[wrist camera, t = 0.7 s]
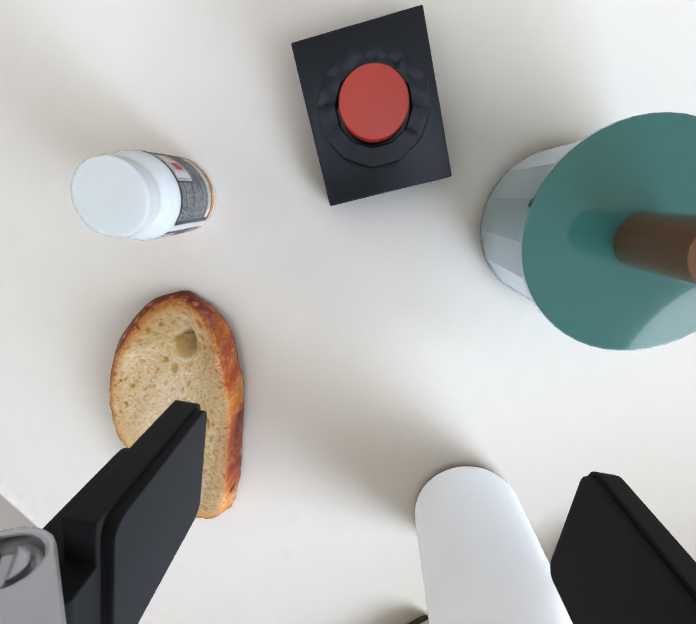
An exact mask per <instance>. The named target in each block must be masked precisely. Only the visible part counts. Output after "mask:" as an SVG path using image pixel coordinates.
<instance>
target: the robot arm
mask: <svg viewBox="0 0 696 624" xmlns="http://www.w3.org/2000/svg"><path fill="white" fill-rule="evenodd" d="M206 423H207V412H206V411H203V410H201V407H200V404H198V403H192V402H186V401H181V400H175V401H174V402H173V403H172V404H171V405H170V406H169V407H168V408H167V409H166V410H165V411H164V412H163V413H162V414H161V415H160V416H159V417H158V419H157V420H156V421H155V422H154V423H153V424H152V425H151V426H150V427H149V428H148V429H147V430H146V431H145V432H144V433H143V434H142V435H141V436H140V437H139V438H138V439H137V441H136V442H135V443H134V444H133V445H132V446H131V447H130V448H123V449H121V450H120V451H119V452H118V453H117V454H116V455H115V456H114V457H113V458H112V459H111V460H110V461H109V462H108V463H107V464H106V465H105V466H104V467H103V468H102V469H101V470H100V471H99V472H98V473H97V474H96V475H95V476H94V477H93V478H92V479H91V480H90V481H89V482H88V483H87V484H86V485H85V486H84V487H83V488H82V489H81V490H80V491H79V492H78V493H77V494H76V495H75V496H74V497H73V498H72V499H71V500H70V501H69V502H68V503H67V504H66V505H65V506H64V507H63V508H62V510H61V511H60V512H59V513H58V514H57V515H56V516H55V517H54V518H53V519H52V520H51V521H50V522H49V523H48V524H47V525H46V526H45V527H44V528H43V529H41V528H37V527H15V528H10V529H5V530H2V531H0V624H138V622H139V621H140V619H141V617H142V615H143V613H144V611H145V609H146V608H147V606H148V604H149V602H150V600H151V598H152V597H153V595H154V593H155V591H156V589H157V587H158V586H159V584H160V582H161V580H162V578H163V576H164V575H165V573H166V571H167V569H168V567H169V565H170V564H171V562H172V560H173V558H174V556H175V554H176V553H177V551H178V549H179V547H180V545H181V543H182V541H183V540H184V538H185V536H186V534H187V532H188V530H189V529H190V527H191V525H192V523H193V521H194V519H195V517H196V515H197V513H198V510H199V506H200V500H201V487H202V474H203V461H204V449H205V436H206ZM550 574H551V578H552V581H553V583H554V585H555V587H556V589H557V591H558V593H559V596H560V598H561V600H562V602H563V604H564V606H565V608H566V611H567V613H568V615H569V617H570V619H571V621H572V623H573V624H696V562H695V561H694V560H693V559H692V557H691V556H690V555H689V554H688V553H687V552H686V551H685V549H684V548H683V547H682V546H681V545H680V544H679V543H678V542H677V540H676V539H675V538H674V537H673V536H672V535H671V534H670V532H669V531H668V530H667V529H666V528H665V527H664V526H663V525H662V523H661V522H660V521H659V520H658V519H657V518H656V517H655V515H654V514H653V513H652V512H651V511H650V510H649V509H648V508H647V506H646V505H645V504H644V503H643V502H642V501H641V500H640V498H639V497H638V496H637V495H636V494H635V493H634V492H633V490H632V489H631V488H630V487H629V486H628V485H627V484H626V483H625V481H624V480H623V479H622V478H621V477H619V476H616V475H611V474H605V473H599V472H591V473H590V474H589V475H588V476H585V477H583V478H582V479H581V481H580V483H579V486H578V489H577V491H576V494H575V497H574V500H573V502H572V505H571V508H570V511H569V513H568V516H567V519H566V522H565V524H564V527H563V530H562V532H561V535H560V538H559V541H558V543H557V546H556V549H555V552H554V554H553V557H552V560H551V563H550Z"/></svg>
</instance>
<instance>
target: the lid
mask: <svg viewBox="0 0 696 624" xmlns="http://www.w3.org/2000/svg"><path fill="white" fill-rule="evenodd" d="M519 261H520V269H521V273H522V278H523V281H524V284H525V287H526V289H527V292H528V294H529V296H530V298H531V299H532V301H533V303H534V305H535V306H536V307H537V309H538V310H539V311H540V313H541V314H542V315H543V316H544V317H545V318H546V319H547V320H548V321H549V322H550V323H551V324H552V325H554V326H555V327H556V328H558V329H559V330H560V331H562V332H563V333H564V334H566V335H568V336H570V337H571V338H573V339H575V340H577V341H579V342H582V343H585V344H587V345H590V346H594V347H598V348H602V349H609V350H618V351H625V350H641V349H648V348H653V347H657V346H661V345H665V344H667V343H670V342H673V341H676V340H678V339H681V338H683V337H685V336H687V335H689V334H691V333H693V332H695V331H696V116H693V115H689V114H684V113H673V112H661V113H649V114H643V115H638V116H633V117H630V118H627V119H623V120H620V121H617V122H614V123H611V124H609V125H607V126H605V127H603V128H600V129H598V130H596V131H594V132H593V133H591V134H589V135H588V136H586V137H584V138H583V139H581V140H580V141H579V142H577V143H576V144H575V145H573V146H572V147H571V148H570V149H568V150H567V151H566V152H565V153H564V154H563V155H562V156H561V157H560V158H559V159H558V160H557V161H556V162H555V163H554V164H553V165H552V167H551V168H550V169H549V170H548V172H547V173H546V174H545V175H544V177H543V178H542V180H541V181H540V183H539V185H538V186H537V188H536V189H535V191H534V193H533V195H532V197H531V200H530V202H529V204H528V206H527V209H526V212H525V215H524V218H523V222H522V227H521V232H520V239H519Z"/></svg>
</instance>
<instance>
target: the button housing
mask: <svg viewBox="0 0 696 624" xmlns="http://www.w3.org/2000/svg"><path fill="white" fill-rule="evenodd" d="M291 45H292V49H293V54H294V58H295V62H296V66H297V70H298V74H299V78H300V83H301V87H302V91H303V95H304V99H305V103H306V107H307V112H308V116H309V120H310V124H311V128H312V132H313V136H314V141H315V145H316V149H317V153H318V157H319V161H320V165H321V170H322V174H323V178H324V182H325V186H326V190H327V194H328V199H329V203H330V206H332V205H336V204H341V203H345V202H349V201H353V200H357V199H361V198H365V197H369V196H373V195H377V194H381V193H385V192H389V191H393V190H397V189H401V188H406V187H410V186H414V185H418V184H422V183H426V182H430V181H434V180H438V179H442V178H446V177H450V176H451V170H450V164H449V158H448V152H447V146H446V140H445V134H444V128H443V122H442V116H441V111H440V105H439V99H438V93H437V87H436V81H435V75H434V69H433V63H432V57H431V51H430V45H429V40H428V34H427V28H426V22H425V16H424V10H423V6H422V5H420V6H416V7H413V8H410V9H406V10H403V11H399V12H396V13H392V14H389V15H386V16H382V17H379V18H375V19H372V20H369V21H365V22H362V23H358V24H355V25H352V26H348V27H345V28H341V29H338V30H335V31H331V32H328V33H324V34H321V35H318V36H314V37H311V38H307V39H304V40H300V41H297V42H294V43H292V44H291ZM368 63H382V64H385V65H388V66H390V67H392V68H393V69H395V70H396V71H397V72H398V73H399V74H400V75H401V77H402V78H403V79H404V81H405V83H406V86H407V89H408V93H409V108H408V112H407V115H406V117H405V120H404V122H403V124H402V126H401V127H400V129H399V130H398V131H397V132H396V133H395V134H394V135H393V136H392V137H390V138H388V139H386V140H384V141H381V142H375V143H371V142H365V141H362V140H360V139H358V138H356V137H355V136H353V135H352V134H351V133H350V132H349V131H348V129H347V128H346V126H345V124H344V122H343V120H342V117H341V114H340V110H339V95H340V90H341V87H342V85H343V83H344V81H345V79H346V78H347V77H348V75H349V74H350V73H351V72H352V71H353V70H355V69H356V68H358V67H360V66H362V65H364V64H368Z"/></svg>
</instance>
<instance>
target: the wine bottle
mask: <svg viewBox="0 0 696 624" xmlns="http://www.w3.org/2000/svg"><path fill="white" fill-rule="evenodd" d="M415 522H416V529H417V537H418V544H419V552H420V559H421V567H422V574H423V582H424V589H425V596H426V604H427V611H428V619H429V624H573V623H572V621H571V619H570V617H569V615H568V613H567V611H566V608H565V606H564V604H563V602H562V600H561V598H560V596H559V593H558V591H557V589H556V587H555V585H554V583H553V581H552V578H551V574H550V564H549V562H548V560H547V558H546V556H545V554H544V552H543V550H542V548H541V546H540V543H539V541H538V539H537V537H536V535H535V533H534V531H533V529H532V527H531V525H530V523H529V521H528V519H527V516H526V514H525V512H524V510H523V508H522V506H521V504H520V502H519V500H518V498H517V496H516V494H515V492H514V491H513V489H512V488H511V487H510V485H509V484H508V483H507V482H505V481H504V480H503V479H502V478H501V477H499V476H498V475H496V474H495V473H493V472H491V471H488V470H486V469H482V468H478V467H470V466H464V467H456V468H451V469H448V470H446V471H443V472H441V473H439V474H438V475H436V476H434V477H433V478H432V479H431V480H430V481H428V482H427V484H426V485H425V486H424V487H423V489H422V490H421V492H420V494H419V496H418V499H417V502H416V507H415Z"/></svg>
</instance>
